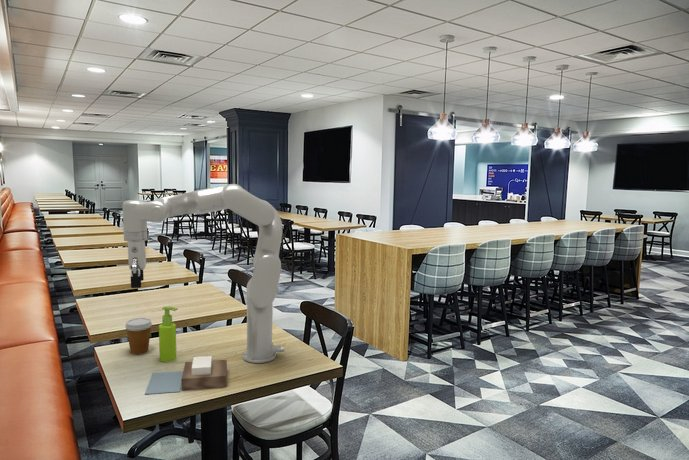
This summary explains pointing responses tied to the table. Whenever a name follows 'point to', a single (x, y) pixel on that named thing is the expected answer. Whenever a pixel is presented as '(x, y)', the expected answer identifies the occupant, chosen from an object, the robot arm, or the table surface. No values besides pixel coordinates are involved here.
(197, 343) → the table surface
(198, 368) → the tile
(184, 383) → the brown wooden block
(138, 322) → the disposable coffee cup
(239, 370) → the table surface
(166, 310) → the soap dispenser
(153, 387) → the mat
